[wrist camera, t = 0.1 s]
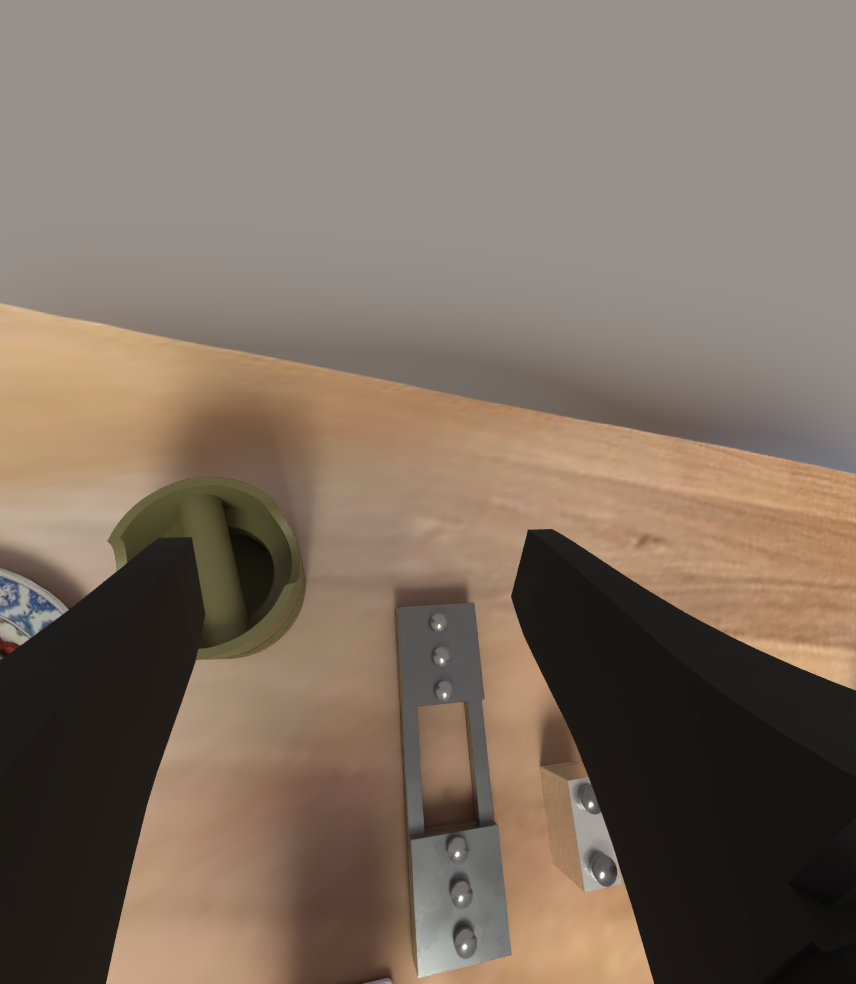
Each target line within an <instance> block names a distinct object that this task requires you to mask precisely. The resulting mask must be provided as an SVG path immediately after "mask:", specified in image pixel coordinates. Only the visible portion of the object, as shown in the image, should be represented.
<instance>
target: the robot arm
mask: <svg viewBox="0 0 856 984" xmlns="http://www.w3.org/2000/svg"><path fill="white" fill-rule="evenodd" d="M511 598H512V601H513V604H514V608H515V611H516V614H517V617H518V620H519V623H520V626H521V629H522V632H523V635H524V637H525V639H526V641H527V643H528V645H529V648H530V650H531V652H532V654H533V656H534V658H535V660H536V662H537V664H538V666H539V668H540V670H541V672H542V674H543V676H544V678H545V680H546V682H547V684H548V687H549V689H550V691H551V693H552V695H553V697H554V699H555V701H556V703H557V705H558V707H559V709H560V711H561V713H562V715H563V717H564V719H565V721H566V723H567V725H568V727H569V730H570V732H571V734H572V736H573V739H574V741H575V743H576V746H577V748H578V751H579V753H580V756H581V759H582V761H583V764H584V767H585V769H586V772H587V775H588V777H589V780H590V783H591V785H592V788H593V790H594V793H595V796H596V799H597V802H598V805H599V808H600V810H601V813H602V816H603V819H604V822H605V825H606V828H607V830H608V833H609V836H610V839H611V842H612V845H613V848H614V851H615V854H616V857H617V861H618V864H619V867H620V870H621V873H622V876H623V879H624V883H625V886H626V889H627V892H628V895H629V898H630V901H631V905H632V908H633V911H634V915H635V918H636V922H637V925H638V929H639V932H640V936H641V939H642V943H643V946H644V949H645V953H646V956H647V960H648V963H649V967H650V970H651V974H652V977H653V981H654V984H856V690H853V689H850V688H848V687H845V686H842V685H840V684H837V683H834V682H832V681H829V680H827V679H825V678H822V677H820V676H817V675H815V674H812V673H810V672H807V671H805V670H802V669H800V668H798V667H796V666H793V665H791V664H789V663H787V662H784V661H782V660H780V659H778V658H775V657H773V656H771V655H769V654H766V653H764V652H762V651H759V650H757V649H755V648H753V647H751V646H749V645H747V644H745V643H743V642H741V641H738V640H736V639H734V638H732V637H731V636H729V635H727V634H725V633H723V632H721V631H719V630H717V629H715V628H713V627H711V626H709V625H707V624H705V623H703V622H701V621H700V620H698V619H696V618H694V617H692V616H691V615H689V614H687V613H685V612H683V611H682V610H680V609H678V608H676V607H675V606H673V605H671V604H670V603H668V602H666V601H665V600H663V599H661V598H660V597H658V596H656V595H655V594H653V593H651V592H650V591H648V590H646V589H645V588H643V587H642V586H640V585H639V584H637V583H635V582H634V581H632V580H631V579H629V578H628V577H626V576H624V575H623V574H621V573H620V572H618V571H617V570H615V569H614V568H612V567H611V566H609V565H608V564H606V563H605V562H603V561H602V560H600V559H599V558H597V557H596V556H594V555H593V554H591V553H590V552H588V551H587V550H585V549H584V548H582V547H581V546H579V545H578V544H576V543H575V542H573V541H571V540H570V539H568V538H567V537H565V536H563V535H562V534H560V533H558V532H556V531H555V530H553V529H539V530H528V532H527V536H526V540H525V544H524V548H523V552H522V556H521V560H520V564H519V568H518V572H517V576H516V579H515V583H514V587H513V591H512V595H511ZM204 618H205V609H204V603H203V598H202V592H201V586H200V580H199V575H198V569H197V563H196V558H195V552H194V546H193V541H192V537H176V538H157V539H156V540H155V541H154V542H152V543H151V544H150V545H148V546H147V547H146V548H145V549H143V550H142V551H141V552H140V553H139V554H137V555H136V556H135V557H134V558H132V559H131V560H130V561H129V562H128V563H126V564H125V565H124V566H123V567H122V568H120V569H119V570H118V571H117V572H116V573H114V574H113V575H112V576H111V577H109V578H108V579H107V580H106V581H104V582H103V583H102V584H101V585H100V586H98V587H97V588H96V589H95V590H93V591H92V592H91V593H90V594H88V595H87V596H86V597H85V598H83V599H82V600H81V601H80V602H78V603H77V604H76V605H74V606H73V607H72V608H71V609H69V610H68V611H67V612H65V613H64V614H62V615H61V616H60V617H58V618H57V619H56V620H54V621H53V622H52V623H50V624H49V625H48V626H46V627H45V628H43V629H42V630H41V631H39V632H38V633H37V634H35V635H34V636H33V637H31V638H30V639H29V640H27V641H26V642H24V643H23V644H22V645H20V646H19V647H18V648H16V649H15V650H14V651H12V652H11V653H9V654H8V655H6V656H5V657H3V658H2V659H1V660H0V984H106V981H107V976H108V971H109V967H110V962H111V957H112V952H113V948H114V943H115V938H116V934H117V929H118V925H119V921H120V916H121V912H122V908H123V903H124V899H125V895H126V890H127V886H128V881H129V877H130V873H131V868H132V864H133V860H134V856H135V852H136V848H137V844H138V840H139V836H140V832H141V828H142V824H143V820H144V815H145V811H146V807H147V803H148V800H149V797H150V794H151V790H152V787H153V784H154V780H155V777H156V774H157V771H158V768H159V765H160V763H161V760H162V757H163V754H164V751H165V748H166V745H167V743H168V740H169V737H170V734H171V731H172V728H173V725H174V722H175V720H176V717H177V714H178V711H179V708H180V705H181V702H182V700H183V697H184V694H185V691H186V688H187V685H188V682H189V679H190V676H191V673H192V670H193V667H194V664H195V661H196V657H197V653H198V648H199V643H200V639H201V634H202V629H203V623H204ZM364 984H393V982H392V980H391V979H389V978H384V979H380V980H376V981H372V982H368V983H364Z"/></svg>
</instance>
